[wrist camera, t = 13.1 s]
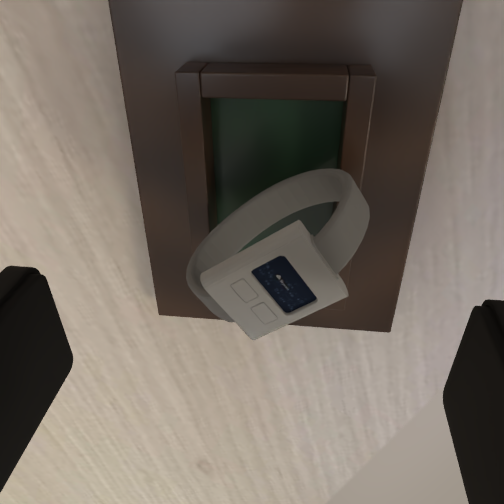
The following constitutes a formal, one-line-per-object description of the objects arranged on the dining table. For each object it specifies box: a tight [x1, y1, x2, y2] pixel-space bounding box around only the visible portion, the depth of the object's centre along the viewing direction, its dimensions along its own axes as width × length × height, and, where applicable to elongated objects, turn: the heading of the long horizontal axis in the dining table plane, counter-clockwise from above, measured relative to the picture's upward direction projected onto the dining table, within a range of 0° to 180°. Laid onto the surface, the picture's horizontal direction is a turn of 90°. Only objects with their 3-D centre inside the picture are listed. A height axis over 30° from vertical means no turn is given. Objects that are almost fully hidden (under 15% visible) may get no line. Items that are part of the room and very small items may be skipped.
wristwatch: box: [186, 168, 370, 340], centre depth 14 cm, size 6×3×5 cm, turn 124°
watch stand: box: [108, 0, 463, 332], centre depth 17 cm, size 14×11×2 cm
